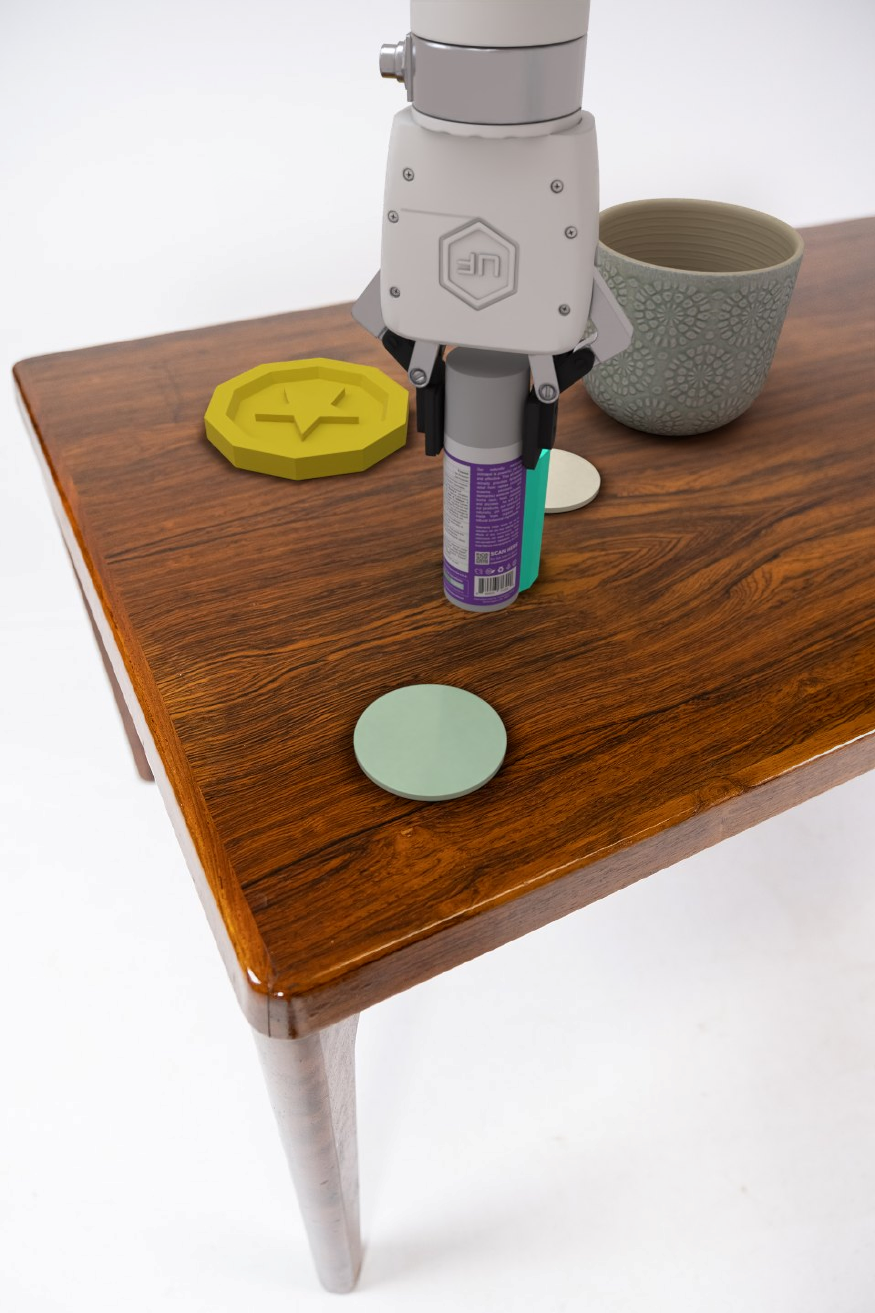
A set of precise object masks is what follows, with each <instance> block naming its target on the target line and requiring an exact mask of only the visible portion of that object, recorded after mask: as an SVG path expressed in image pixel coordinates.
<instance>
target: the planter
mask: <svg viewBox="0 0 875 1313" xmlns="http://www.w3.org/2000/svg"><path fill="white" fill-rule="evenodd" d="M804 252H805V241H804V238H803V237H802V235H801V233H799V231H797V230H796V229H795V228H793V227H792V226H791V225H790V224H788V223H787V222H785V221H783V220H782V219H779V218H777V217H775V216H773V215H770V214H769V213H765V212H763V211H760V210H756V209H753V208H749V207H746V206H743V205H739V204H734V203H728V202H723V201H716V200H708V199H701V198H699V199H698V198H686V197H683V198H682V197H661V198H659V197H658V198H647V199H637V200H632V201H627V202H623V203H619V204H616V205H612V206H610V207H607V208H605V209H603V210H601V211H599V241H598V264H597V269H598V271H599V272H600V274H601V276H602V277H603V279H604V280H605V282H606V284H607V285H608V287H609V289H610V290H611V292H612V294H613V295H614V297H615V298H616V300H617V302H618V303H619V305H620V307H621V308H622V310H623V311H624V313H625V315H626V316H627V318H628V320H629V321H630V323H631V324H632V326H633V328H634V336H633V339H632V342H631V345H630V347H629V348H628V349H627V350H625V351H624V352H622V353H620V354H618V355H617V356H615V357H613V358H611V359H609V360H608V361H606V362H604V363H602V364H599V365H597V366H595V367H594V368H592V370H591V371H590V372H589V373H587V374H586V375H585V376H584V377H582V378H581V379H580V380H581V382H582V384H583V387H584V389H585V390H586V393H587V394H588V396H589V397H590V398H591V400H592V401H593V402H594V403H595V404H596V406H598V407H599V408H600V409H601V410H602V411H603V412H604V413H605V414H607V416H609V417H611V418H612V419H613V420H615V421H617V422H618V423H620V424H622V425H624V426H626V427H628V428H631V429H634V430H635V431H639V432H643V433H647V434H651V435H652V434H653V435H658V436H665V437H667V436H668V437H684V436H693V435H701V434H703V433H707V432H711V431H713V430H716V429H718V428H722V427H724V426H725V425H727V424H729V423H731V422H732V421H734V420H735V419H737V418H738V417H740V416H742V414H744V413H746V411H747V410H748V409H749V408H750V407H751V406H752V405H753V404H754V402H755V401H756V400H757V398H758V397H759V395H760V394H761V392H762V390H763V388H764V386H765V384H766V381H767V379H768V376H769V373H770V371H771V368H772V365H773V362H774V358H775V355H776V351H777V348H778V344H779V341H780V337H781V333H782V330H783V326H784V323H785V320H786V317H787V314H788V310H789V308H790V304H791V301H792V298H793V294H794V290H795V287H796V283H797V279H798V275H799V273H800V269H801V264H802V261H803V258H804V254H805V253H804ZM596 332H597V330H596V328H595V326H594V325H593V323H592V321H591V320H590V318H589V317H588V319H587V324H586V328H585V331H584V334H583V336H582V338H581V339H580V340H582V339H587V338H589V337H590V336H592V334H594V333H596Z"/></svg>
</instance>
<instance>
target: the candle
mask: <svg viewBox="0 0 875 1313" xmlns="http://www.w3.org/2000/svg"><path fill="white" fill-rule="evenodd" d="M550 453H551V450H546V449H543V450H542V452H541V455H540V458H539V460H538V463H537V465H536V468H535V470H529V469H527V476H526V492H525V508H524V523H523V539H522V555H521V571H520V585H519V593H521V592H523V591H525V590H527V589H530V588H531V586H532V585H533V583H534V582H535V581H536V579H537V578H538V577H539V569H540V559H541V550H542V541H543V532H544V521H545V519H544V518H545V513H544V512H545V502H546V492H547V482H548V472H549V463H550Z"/></svg>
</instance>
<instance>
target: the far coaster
mask: <svg viewBox="0 0 875 1313" xmlns="http://www.w3.org/2000/svg"><path fill="white" fill-rule="evenodd" d="M600 487H601V476H600V473H599V472H598V470H597V468H596V467H595V466H594V465H593V464H592V463H591V462H590V461H588V460H587V459H585V458H583V457H582V456H579V455H578V454H575V453H573V452H570V451H566V450H563V449H557V448H554V447H553V448H552V450H551V453H550V463H549V472H548V482H547V492H546V502H545V512H544V514H559V513H566V512H570V511H575V510H578V509H580V508H583V507H584V506H586V505H588V504H589V503H591V502H593V500H594V499H595V498H596V497H597V496H598V494H599V491H600Z"/></svg>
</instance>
